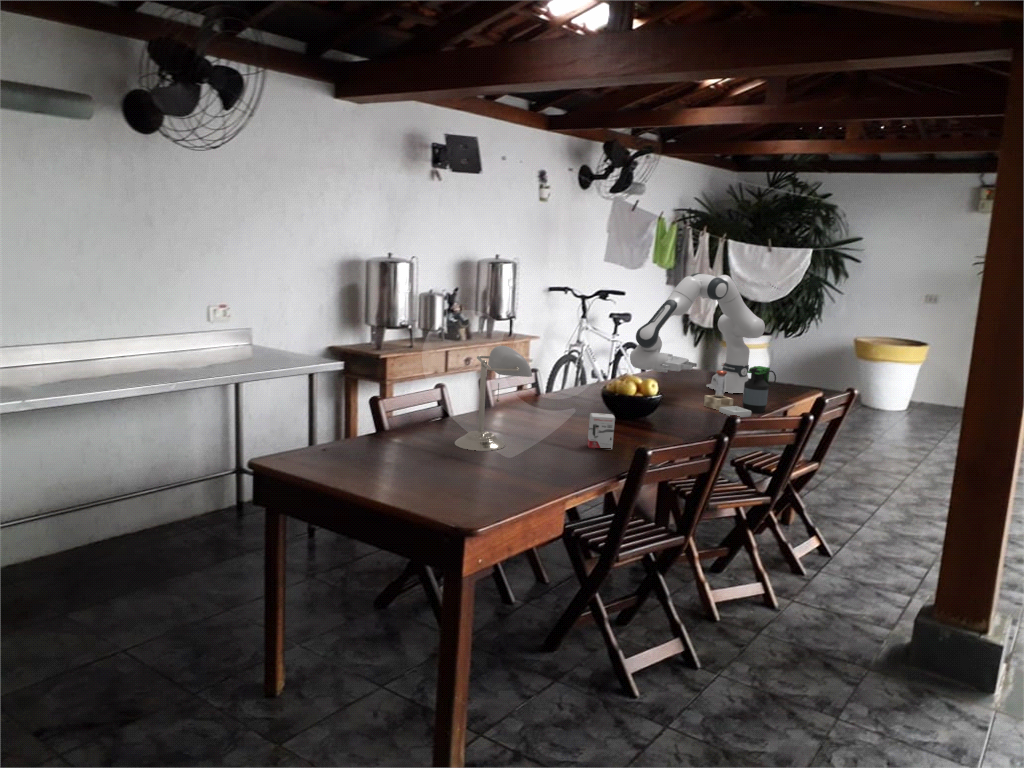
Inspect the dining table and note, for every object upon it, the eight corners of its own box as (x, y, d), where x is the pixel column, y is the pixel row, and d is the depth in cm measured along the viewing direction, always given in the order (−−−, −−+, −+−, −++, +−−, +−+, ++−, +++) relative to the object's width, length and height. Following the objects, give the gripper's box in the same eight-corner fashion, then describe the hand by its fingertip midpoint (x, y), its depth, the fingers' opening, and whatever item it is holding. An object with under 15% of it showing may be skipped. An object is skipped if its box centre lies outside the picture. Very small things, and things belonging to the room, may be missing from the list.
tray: (718, 412, 353) (719, 407, 353) (735, 411, 357) (736, 406, 357) (733, 417, 345) (734, 412, 344) (750, 416, 349) (751, 410, 348)
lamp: (531, 454, 271) (537, 355, 264) (460, 454, 266) (464, 354, 259) (514, 434, 296) (520, 343, 290) (449, 434, 291) (453, 342, 284)
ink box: (588, 448, 282) (590, 416, 280) (587, 444, 287) (589, 412, 285) (612, 449, 282) (615, 417, 280) (611, 446, 287) (613, 414, 285)
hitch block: (703, 406, 365) (704, 395, 364) (719, 405, 369) (720, 394, 368) (716, 410, 357) (717, 399, 356) (732, 409, 361) (733, 398, 360)
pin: (710, 407, 364) (714, 370, 361) (718, 406, 366) (722, 370, 363) (717, 409, 360) (721, 372, 357) (725, 408, 362) (729, 371, 359)
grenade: (772, 410, 364) (778, 367, 360) (759, 414, 354) (764, 370, 350) (751, 406, 371) (755, 363, 367) (737, 409, 361) (742, 366, 357)
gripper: (659, 358, 360) (690, 362, 354) (670, 353, 378) (699, 357, 373) (658, 372, 361) (689, 376, 355) (668, 366, 379) (698, 370, 374)
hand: (694, 366), depth 364 cm, fingers open, 8 cm apart
